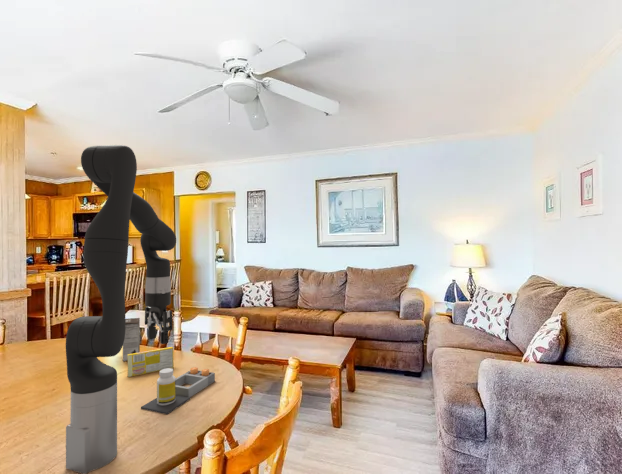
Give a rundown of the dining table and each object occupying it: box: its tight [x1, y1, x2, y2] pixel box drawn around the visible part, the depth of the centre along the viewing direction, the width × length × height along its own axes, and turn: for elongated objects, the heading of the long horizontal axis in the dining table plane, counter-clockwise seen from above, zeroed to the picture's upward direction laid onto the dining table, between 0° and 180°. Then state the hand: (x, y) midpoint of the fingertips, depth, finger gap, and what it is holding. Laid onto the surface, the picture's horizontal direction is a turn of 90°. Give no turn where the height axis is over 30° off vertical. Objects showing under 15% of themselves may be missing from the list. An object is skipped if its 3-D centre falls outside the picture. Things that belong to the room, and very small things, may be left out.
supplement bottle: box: [156, 368, 177, 406], centre depth 107 cm, size 5×5×10 cm
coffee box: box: [122, 317, 141, 362], centre depth 149 cm, size 9×6×16 cm
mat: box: [140, 395, 191, 415], centre depth 106 cm, size 10×10×1 cm
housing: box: [175, 369, 216, 398], centre depth 118 cm, size 14×10×3 cm
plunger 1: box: [189, 366, 199, 374], centre depth 124 cm, size 3×3×3 cm
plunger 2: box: [201, 368, 210, 376], centre depth 122 cm, size 3×3×3 cm
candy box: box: [127, 346, 174, 378], centre depth 133 cm, size 16×2×8 cm, turn 123°
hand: (157, 341), depth 110 cm, fingers open, 8 cm apart
